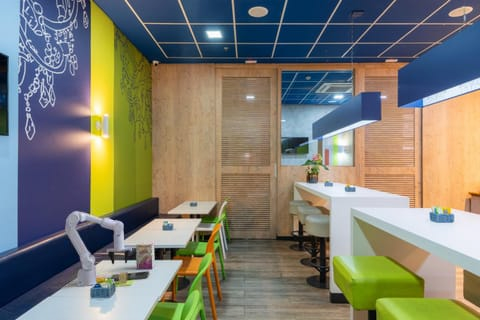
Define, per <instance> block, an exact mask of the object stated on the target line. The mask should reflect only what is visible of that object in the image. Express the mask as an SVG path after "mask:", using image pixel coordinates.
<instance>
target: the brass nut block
mask: <svg viewBox="0 0 480 320" xmlns="http://www.w3.org/2000/svg"><path fill="white" fill-rule="evenodd" d="M128 273H129V272H128V271H125V272H123V271H122V272H120V273H118V274H119V285H120V284H127V282H128Z"/></svg>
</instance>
